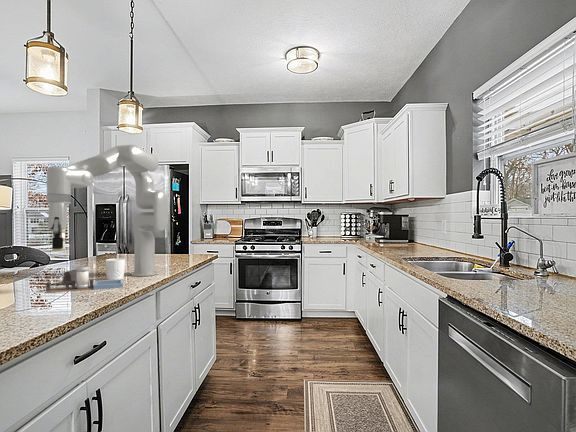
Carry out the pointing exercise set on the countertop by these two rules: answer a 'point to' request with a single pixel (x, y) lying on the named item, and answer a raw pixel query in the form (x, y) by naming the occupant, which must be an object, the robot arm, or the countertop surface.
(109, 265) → the white cup
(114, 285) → the tray
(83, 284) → the grey rounded cylinder
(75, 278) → the perforated stone tool
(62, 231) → the marked fuse
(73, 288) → the fuse holder
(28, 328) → the countertop surface
